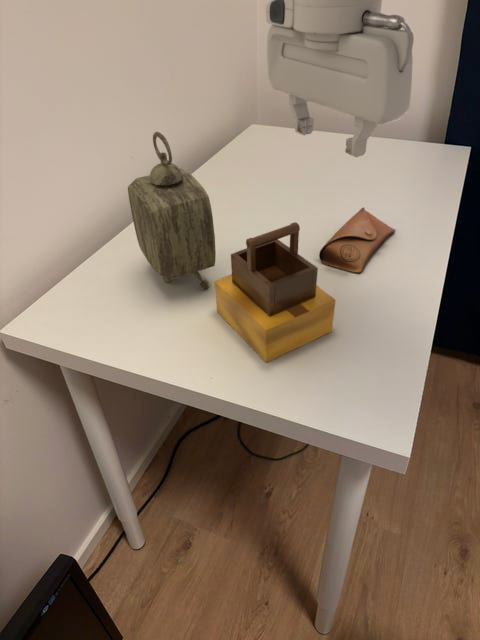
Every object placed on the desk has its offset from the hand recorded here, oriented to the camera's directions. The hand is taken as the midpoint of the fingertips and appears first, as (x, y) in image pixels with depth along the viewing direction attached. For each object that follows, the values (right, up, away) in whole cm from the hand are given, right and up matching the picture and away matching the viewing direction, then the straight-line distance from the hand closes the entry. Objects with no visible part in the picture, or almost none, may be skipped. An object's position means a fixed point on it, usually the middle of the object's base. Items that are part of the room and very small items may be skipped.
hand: (328, 143), depth 58 cm
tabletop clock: (-21, -14, +27) cm, 37 cm away
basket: (-6, -17, +13) cm, 22 cm away
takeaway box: (-6, -21, +17) cm, 28 cm away
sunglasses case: (+12, -8, +33) cm, 36 cm away
